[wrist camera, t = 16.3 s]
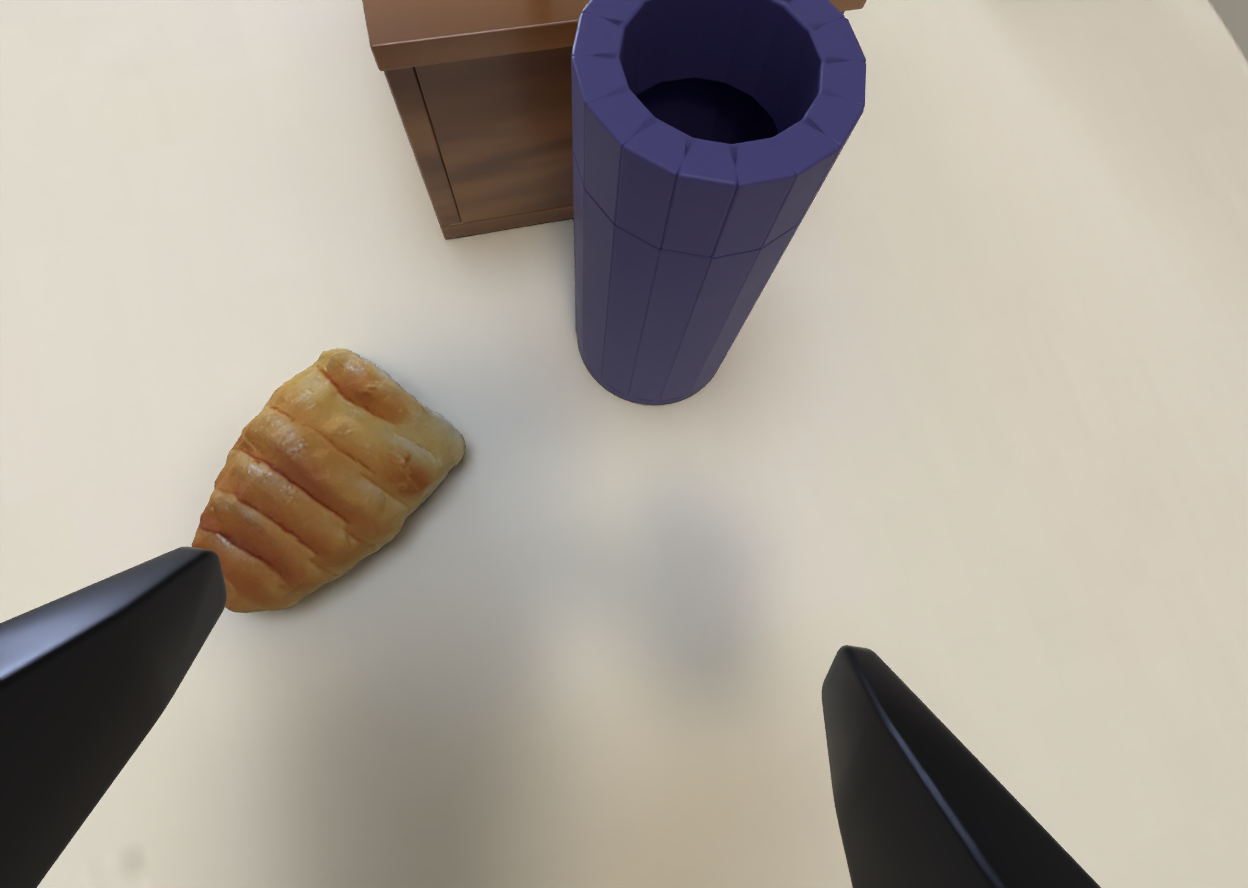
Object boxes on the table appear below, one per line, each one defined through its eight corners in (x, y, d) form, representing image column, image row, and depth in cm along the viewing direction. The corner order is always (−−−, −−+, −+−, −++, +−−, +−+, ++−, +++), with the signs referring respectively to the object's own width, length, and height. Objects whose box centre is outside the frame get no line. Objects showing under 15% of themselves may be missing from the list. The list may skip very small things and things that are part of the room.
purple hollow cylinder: (754, 352, 25) (926, 93, 13) (637, 434, 24) (700, 236, 11) (663, 246, 26) (739, -90, 14) (547, 319, 25) (513, 21, 12)
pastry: (315, 655, 21) (256, 664, 17) (170, 544, 21) (85, 529, 18) (484, 444, 23) (465, 412, 19) (350, 350, 24) (307, 302, 20)
